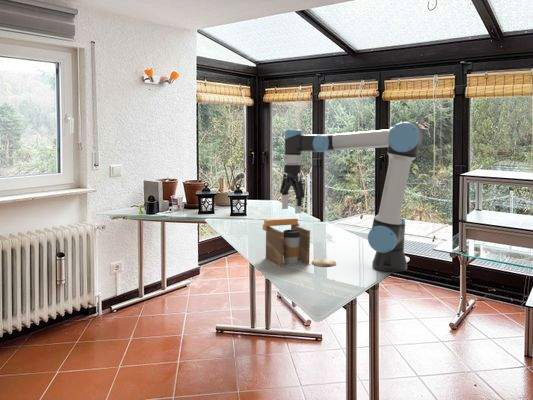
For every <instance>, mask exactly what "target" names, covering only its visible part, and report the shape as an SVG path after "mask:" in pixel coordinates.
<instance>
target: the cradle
mask: <svg viewBox="0 0 533 400" xmlns="http://www.w3.org/2000/svg"><path fill="white" fill-rule="evenodd" d="M290 230H298V231H299V233H300V242H299V256H298V262H302V263H304V264H305V265H310V254H311V253H310V249H311V247H310V245H311V243H310V242H311V230H310V229H307V228H305V227H302V226H300V225H299V226H297V225H290ZM283 248H284V232H283V231H282V230H279V229H276V228H275V227H273V226H267V231H265V259H266V260H269V262H271V263H272V264H275V265H276V266H278V267H280V268H283V267H284V256H283Z"/></svg>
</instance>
